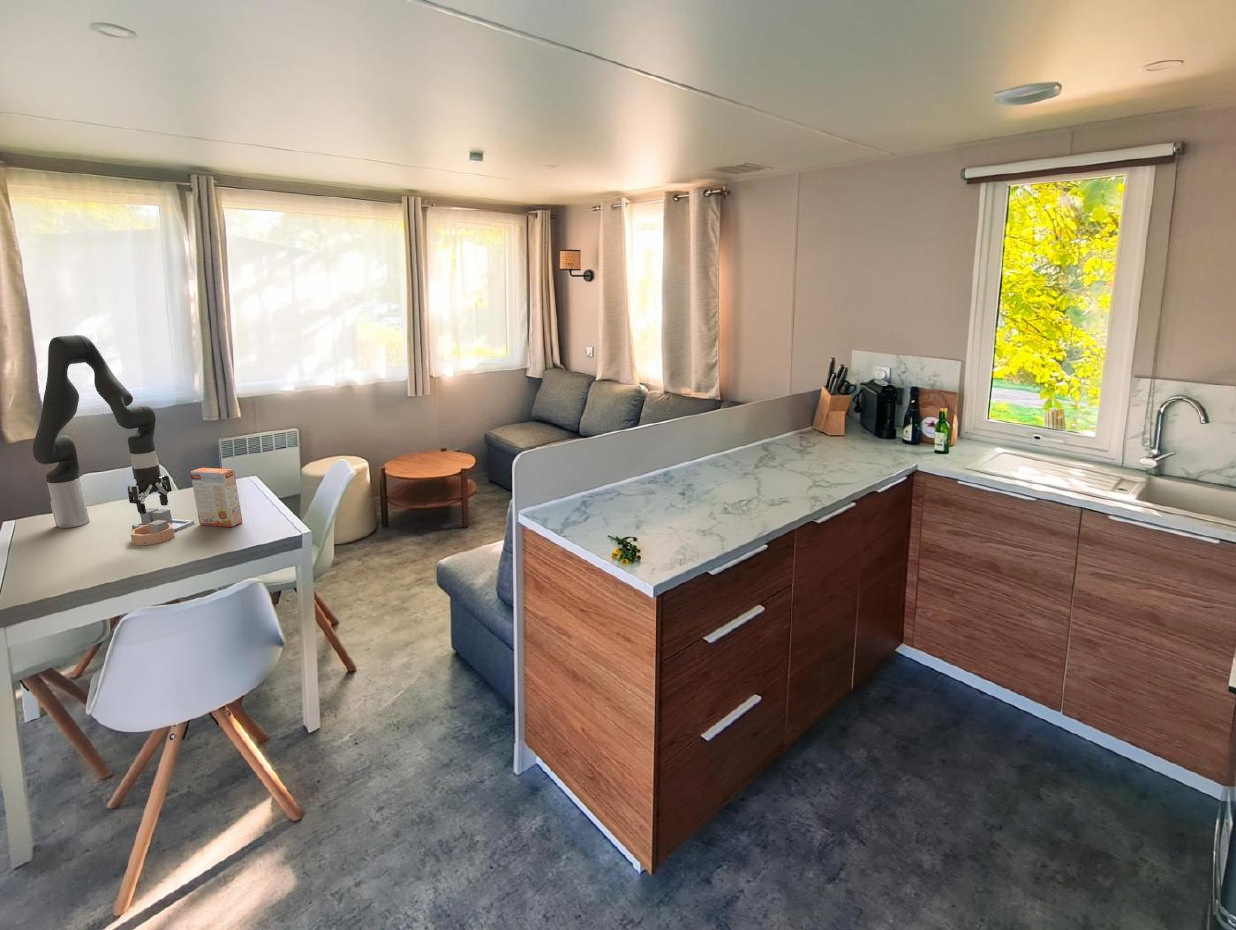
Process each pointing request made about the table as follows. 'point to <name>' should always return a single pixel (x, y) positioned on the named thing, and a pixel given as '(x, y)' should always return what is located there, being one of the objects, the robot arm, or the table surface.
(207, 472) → the cracker box
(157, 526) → the grey rectangular block
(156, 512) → the gray rectangular block
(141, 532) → the bowl
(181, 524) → the tray
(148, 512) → the gray block
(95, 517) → the table surface
